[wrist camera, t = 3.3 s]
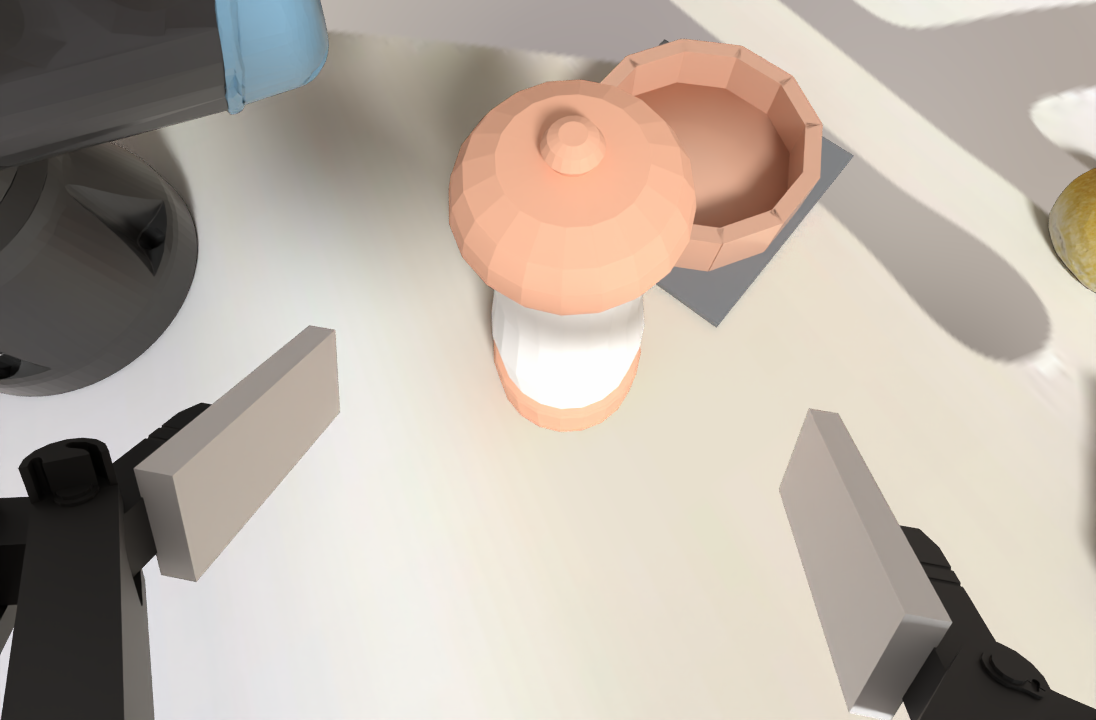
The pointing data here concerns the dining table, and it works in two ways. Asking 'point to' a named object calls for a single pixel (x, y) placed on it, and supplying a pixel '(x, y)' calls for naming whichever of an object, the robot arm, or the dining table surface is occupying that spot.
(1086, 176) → the bread roll
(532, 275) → the pepper shaker
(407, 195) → the dining table surface
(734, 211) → the dish
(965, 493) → the dining table surface
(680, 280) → the mat
